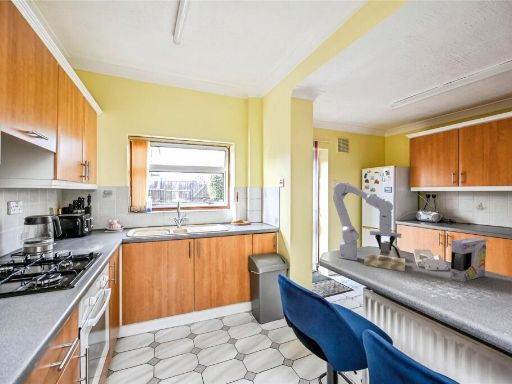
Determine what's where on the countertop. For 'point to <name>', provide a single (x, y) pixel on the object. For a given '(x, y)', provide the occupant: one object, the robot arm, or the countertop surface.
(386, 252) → the t bracket
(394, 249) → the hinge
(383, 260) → the well block
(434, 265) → the mounting bracket
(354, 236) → the robot arm
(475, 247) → the cake pan box
